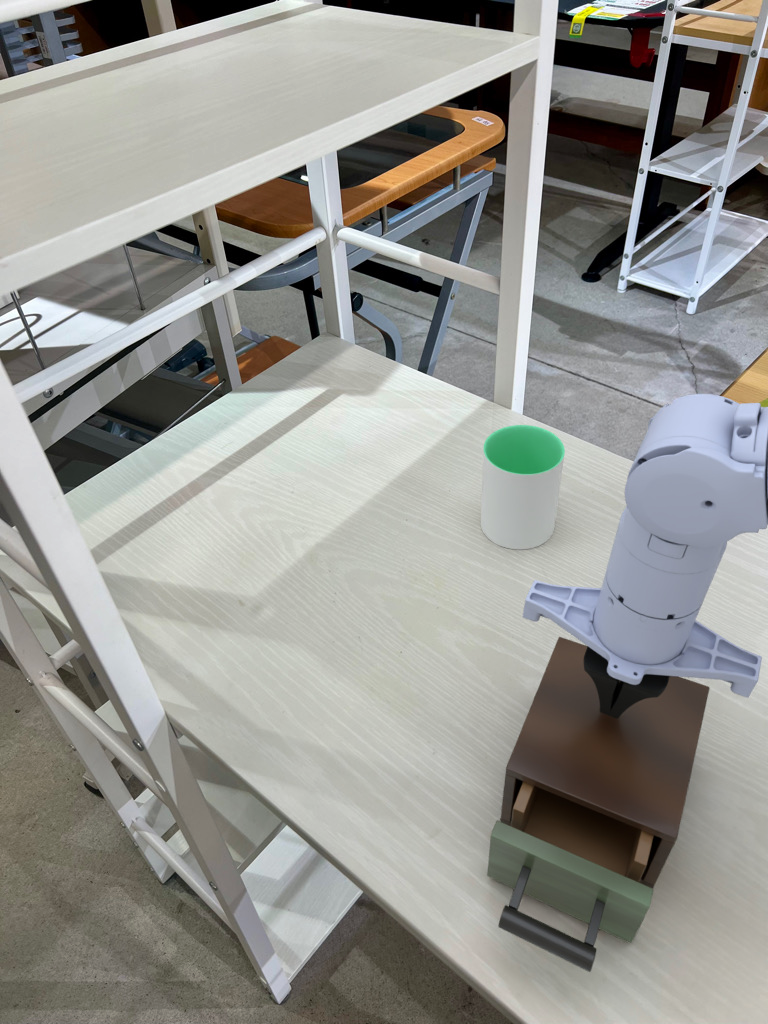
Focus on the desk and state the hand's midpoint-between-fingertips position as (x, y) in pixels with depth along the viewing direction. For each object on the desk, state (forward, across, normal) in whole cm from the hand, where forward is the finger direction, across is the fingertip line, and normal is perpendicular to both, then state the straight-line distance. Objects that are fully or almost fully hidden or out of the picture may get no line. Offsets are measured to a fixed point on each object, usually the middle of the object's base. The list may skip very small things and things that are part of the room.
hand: (612, 704), depth 54 cm
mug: (+11, -16, +27) cm, 33 cm away
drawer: (+9, +1, -8) cm, 12 cm away
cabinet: (+10, +1, -1) cm, 10 cm away
